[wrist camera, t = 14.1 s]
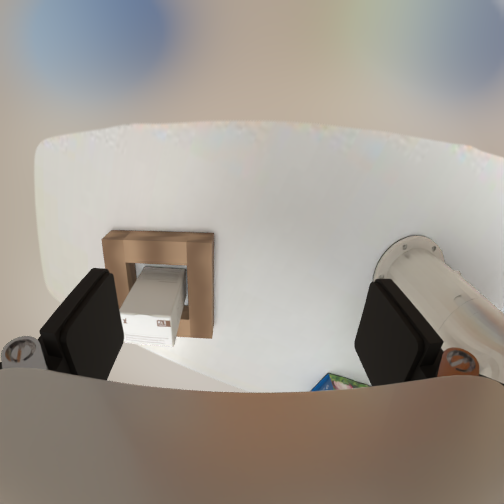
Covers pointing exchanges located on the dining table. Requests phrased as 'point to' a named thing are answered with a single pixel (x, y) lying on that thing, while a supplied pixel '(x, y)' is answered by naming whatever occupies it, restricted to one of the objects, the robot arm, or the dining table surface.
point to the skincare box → (154, 307)
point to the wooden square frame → (171, 253)
